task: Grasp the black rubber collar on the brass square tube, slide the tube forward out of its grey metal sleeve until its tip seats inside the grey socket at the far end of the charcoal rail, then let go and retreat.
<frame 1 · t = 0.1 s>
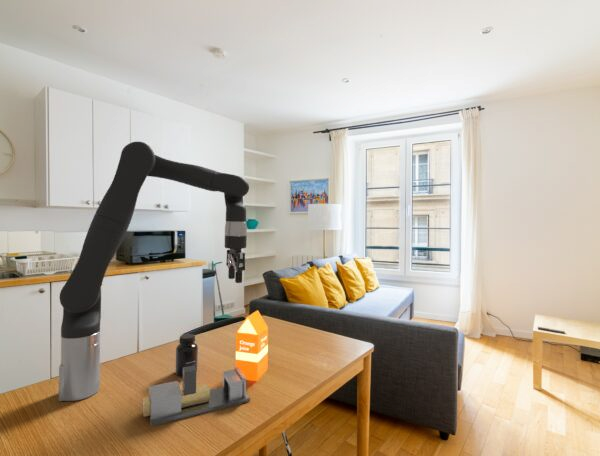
hand: (235, 280, 113), 29 cm above the table, fingers open, 8 cm apart
orange juice: (251, 374, 106), on the table
tube: (177, 388, 84), point 6 cm above the table, slide at 0.0 cm
supplement bottle: (186, 373, 106), on the table
rail: (200, 404, 87), on the table
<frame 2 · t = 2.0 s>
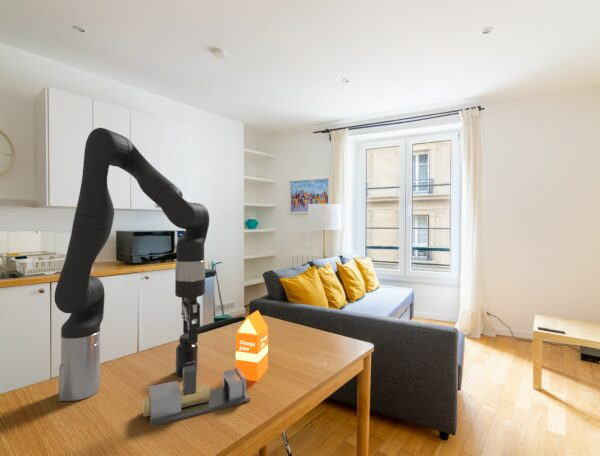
hand: (190, 338, 86), 19 cm above the table, fingers open, 8 cm apart
nothing on the table moved.
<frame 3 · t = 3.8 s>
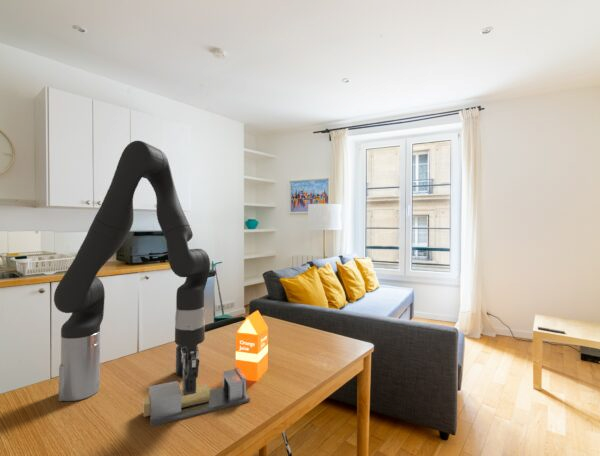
hand: (189, 388, 86), 5 cm above the table, fingers closed on tube, 3 cm apart
tube: (177, 388, 84), point 6 cm above the table, slide at 0.0 cm, touching gripper
everything else where it was.
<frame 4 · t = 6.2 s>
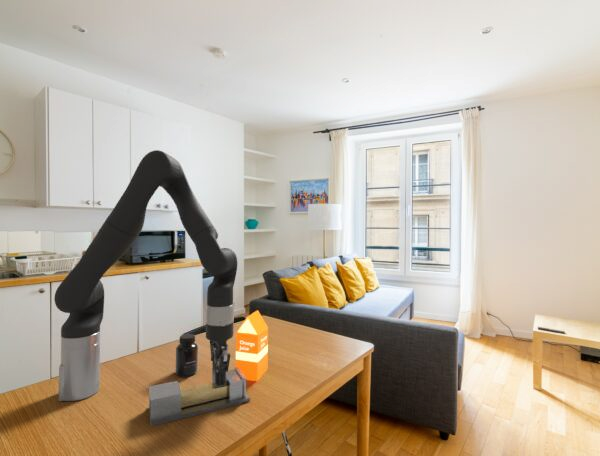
hand: (219, 381, 89), 5 cm above the table, fingers closed on tube, 3 cm apart
tube: (208, 381, 88), point 6 cm above the table, slide at 7.9 cm, touching gripper
everything else where it was.
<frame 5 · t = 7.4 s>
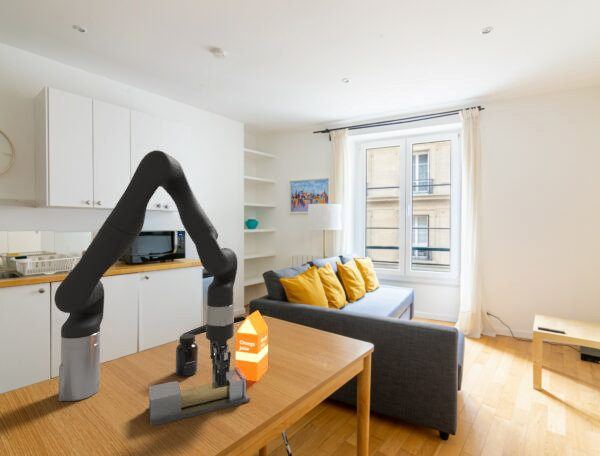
hand: (219, 380, 90), 5 cm above the table, fingers open, 5 cm apart
tube: (208, 381, 88), point 6 cm above the table, slide at 7.9 cm
everything else where it was.
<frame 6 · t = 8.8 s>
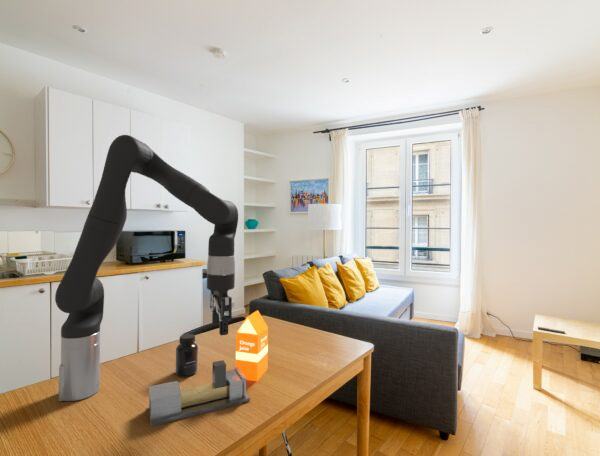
hand: (219, 329, 89), 20 cm above the table, fingers open, 8 cm apart
nothing on the table moved.
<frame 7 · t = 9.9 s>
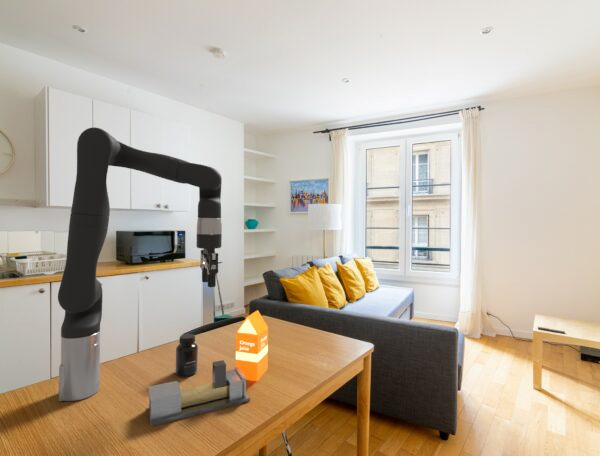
hand: (208, 284, 100), 30 cm above the table, fingers open, 8 cm apart
nothing on the table moved.
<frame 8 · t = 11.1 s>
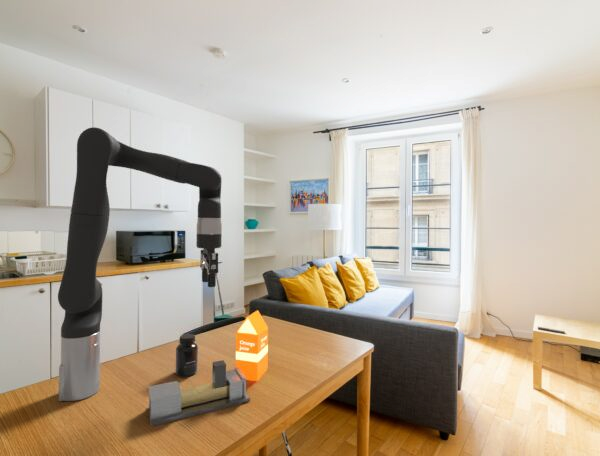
hand: (208, 284, 100), 30 cm above the table, fingers open, 8 cm apart
nothing on the table moved.
at the end: tube slide at 7.9 cm; the gripper is holding nothing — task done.
